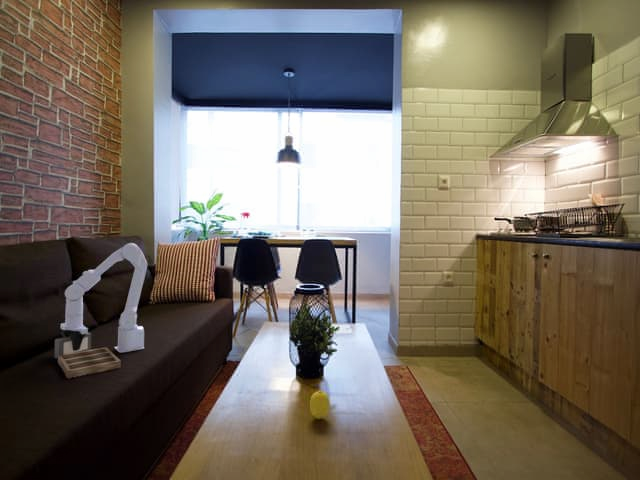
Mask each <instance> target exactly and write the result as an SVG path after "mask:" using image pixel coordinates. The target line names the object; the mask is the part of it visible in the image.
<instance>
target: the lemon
mask: <svg viewBox="0 0 640 480" xmlns="http://www.w3.org/2000/svg"><path fill="white" fill-rule="evenodd" d="M309 410H310V413H311V414H312V416H313V417H315V418H317V419H318V420H321V419H322V418H324V417H326V416H327V415H328V413H329V411H330V399H329V396H328V394H327V393H326V392H324V391H323V390H318V391H315V392H314V393H313V394H312V395H311V398H310V401H309Z"/></svg>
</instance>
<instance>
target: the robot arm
mask: <svg viewBox="0 0 640 480" xmlns="http://www.w3.org/2000/svg"><path fill="white" fill-rule="evenodd" d="M145 257H146V256H145V255H144V252H143V251H142V249H141V247H140V246H138V244H136V243H133V242H129V243H126V244H125V245H124V246H122V247H120V248H119V249H117V250H116V251H114V252H113V253H111V254H110V255H109V256H107V258H106V259H105V260H103V262H102V263H100V264H99V265H98V266H97V267H96V268H95V269H88V270H87V271H86V270H85V271H83V272H82V273H81V274H82V275H81V276H79V278H78V279H76V280H74V281H72V284H71V285H69V286H68V287H67V288H66V289H65V291H64V296H65V298H66V299H65V301H66V303H65V315H64V317H65V320H64V321H65V322H63V323H60V329H61V331H60V334H61V336H62V338H64V337H69V336H70V337H71V340H72V347H73V351H76V350H79V349H80V346H81V343H82V340H83V338H84V337H85V335H86V334H87V333H89V331H88V330H89V328H88V327H86V326H85V325H84V324H83V322H84V321H83V320H84V315H83V314H84V302H83V300H84V299H83V298H84V297H83V296H84V295H85V292H88V291H90V289H91V288H93V286H95V285H96V284H97V283H98V282H100V281H101V276H102V274H104V272H106V271H108V270H109V269H110V268H111V267H112V266H114V264H116V263H117V262H121V261H124V260H127V261H129V262H130V264H132V266H133V267H134V271H133V275H132V279H131V283H130V287H129V289H128V295H127V299H126V303H125V307H124V310H123V312H121V314H120V318H119V320H118V325H119V326H118V327H117V346H114V350H116V351H117V352H118V353H127V352H132V351H138V350H143V349H145V329H144V327H143V326H142V325H138V324H137V318H138V314H137V311H138V305H139V301H140V298H141V293H142V289H143V285H144V282H145V277H146V273H147V268H148V262H147V259H146V258H145Z"/></svg>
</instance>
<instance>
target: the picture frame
mask: <svg viewBox="0 0 640 480" xmlns="http://www.w3.org/2000/svg"><path fill="white" fill-rule="evenodd" d="M88 350H92V333H91V332H88V333H87V334H86V335H85V337H84V338H83V340H82V343H81V346H80V349H79V350H76V351H73V347H72V340H71V337H70V336H69V337H60V338H56V339H55V338H54V357H53V358H55V359H57V358H58V355H64V354H70V353H76V352H82V351H88Z"/></svg>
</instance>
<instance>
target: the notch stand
mask: <svg viewBox="0 0 640 480" xmlns="http://www.w3.org/2000/svg"><path fill="white" fill-rule="evenodd" d="M57 363H58V366H59V367H60V366H61V367H60V368H62V369H61V370H62V372H63V371H64V372H63V374H64V373H65V374H64V375H65V376H66V379H67V378H68V379H71V378H72V377H73V378H77V376H78V377H81V376H82V375H83V376H87V374H88V375H91V374H96V373H102V372H106V371H111V370H115V369H120V368H121V363H122V361H121V359H120V358H118V357H117V356H116V355H115V354H114V353H113V352H112V351H111V350H110V349H109V348H108V347H101V348H94V349H91V350H88V351H82V352H76V353H70V354H64V355H58V359H57Z"/></svg>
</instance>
